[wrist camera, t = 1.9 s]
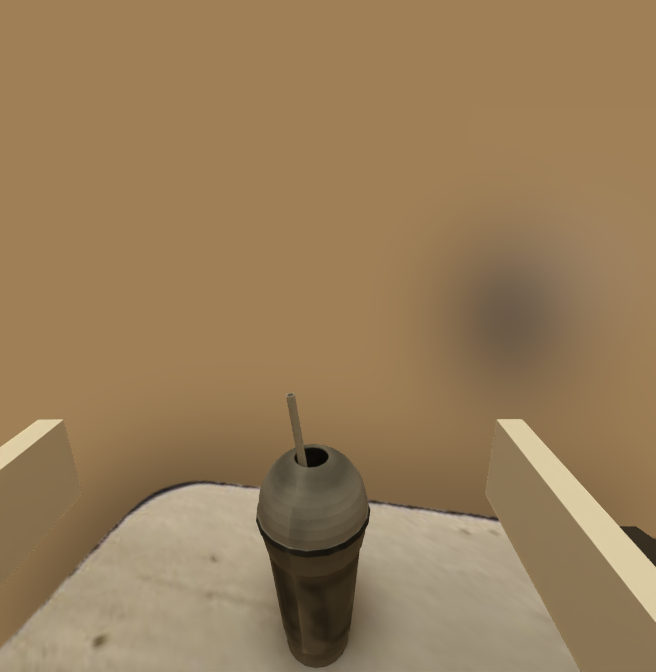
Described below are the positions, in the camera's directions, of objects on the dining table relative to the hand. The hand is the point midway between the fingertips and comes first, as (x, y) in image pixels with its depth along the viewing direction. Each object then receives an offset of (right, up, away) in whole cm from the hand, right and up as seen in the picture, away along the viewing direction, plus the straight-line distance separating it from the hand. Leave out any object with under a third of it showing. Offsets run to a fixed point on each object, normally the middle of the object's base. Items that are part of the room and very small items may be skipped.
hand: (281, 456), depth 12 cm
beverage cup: (+1, -18, +17) cm, 25 cm away
